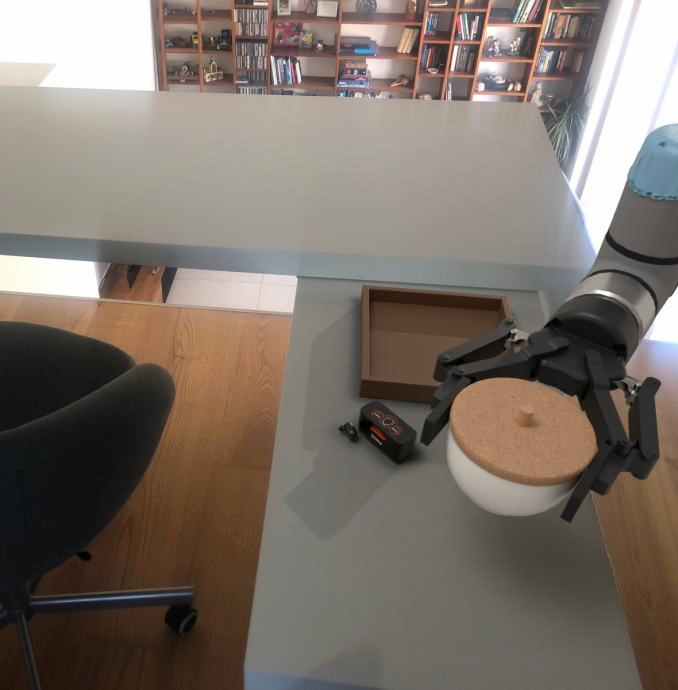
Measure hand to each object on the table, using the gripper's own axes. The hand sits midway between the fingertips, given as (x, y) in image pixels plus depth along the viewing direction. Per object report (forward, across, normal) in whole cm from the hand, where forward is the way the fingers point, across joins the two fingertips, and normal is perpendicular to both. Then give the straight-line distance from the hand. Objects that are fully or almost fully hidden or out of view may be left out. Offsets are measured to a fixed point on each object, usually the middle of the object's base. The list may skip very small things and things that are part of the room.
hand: (494, 469), depth 53 cm
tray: (-27, +16, -16) cm, 35 cm away
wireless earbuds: (-10, +14, -16) cm, 24 cm away
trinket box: (-4, 0, -6) cm, 7 cm away
